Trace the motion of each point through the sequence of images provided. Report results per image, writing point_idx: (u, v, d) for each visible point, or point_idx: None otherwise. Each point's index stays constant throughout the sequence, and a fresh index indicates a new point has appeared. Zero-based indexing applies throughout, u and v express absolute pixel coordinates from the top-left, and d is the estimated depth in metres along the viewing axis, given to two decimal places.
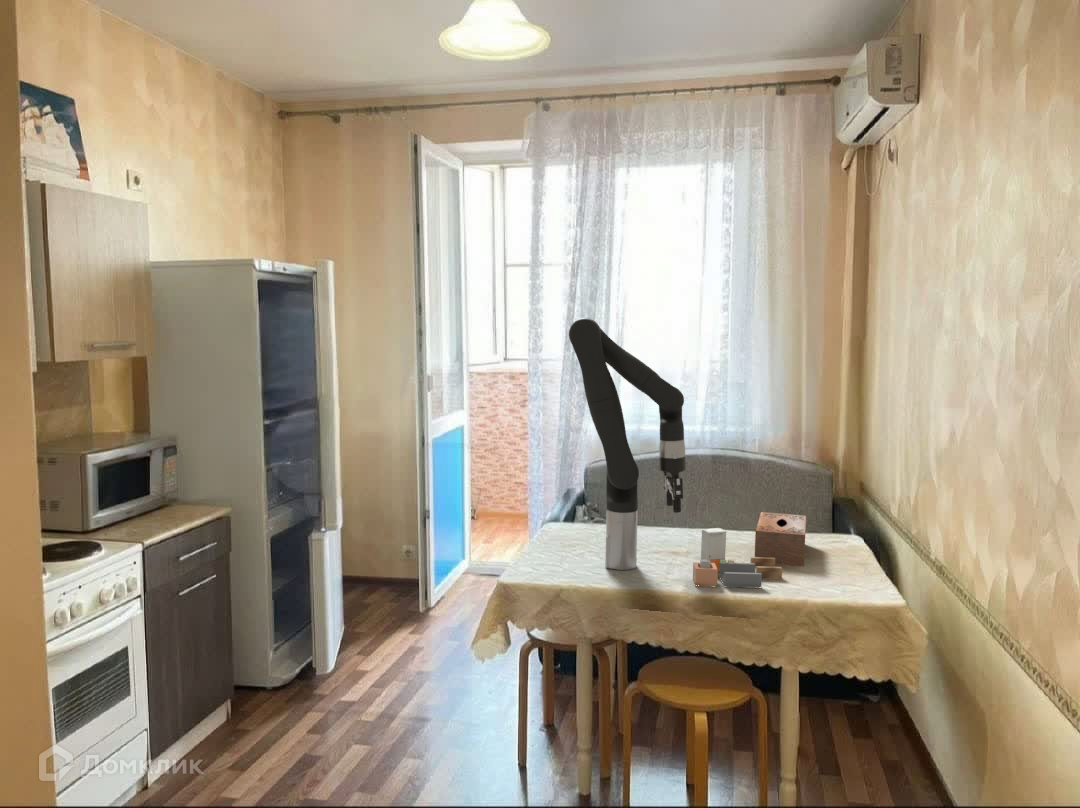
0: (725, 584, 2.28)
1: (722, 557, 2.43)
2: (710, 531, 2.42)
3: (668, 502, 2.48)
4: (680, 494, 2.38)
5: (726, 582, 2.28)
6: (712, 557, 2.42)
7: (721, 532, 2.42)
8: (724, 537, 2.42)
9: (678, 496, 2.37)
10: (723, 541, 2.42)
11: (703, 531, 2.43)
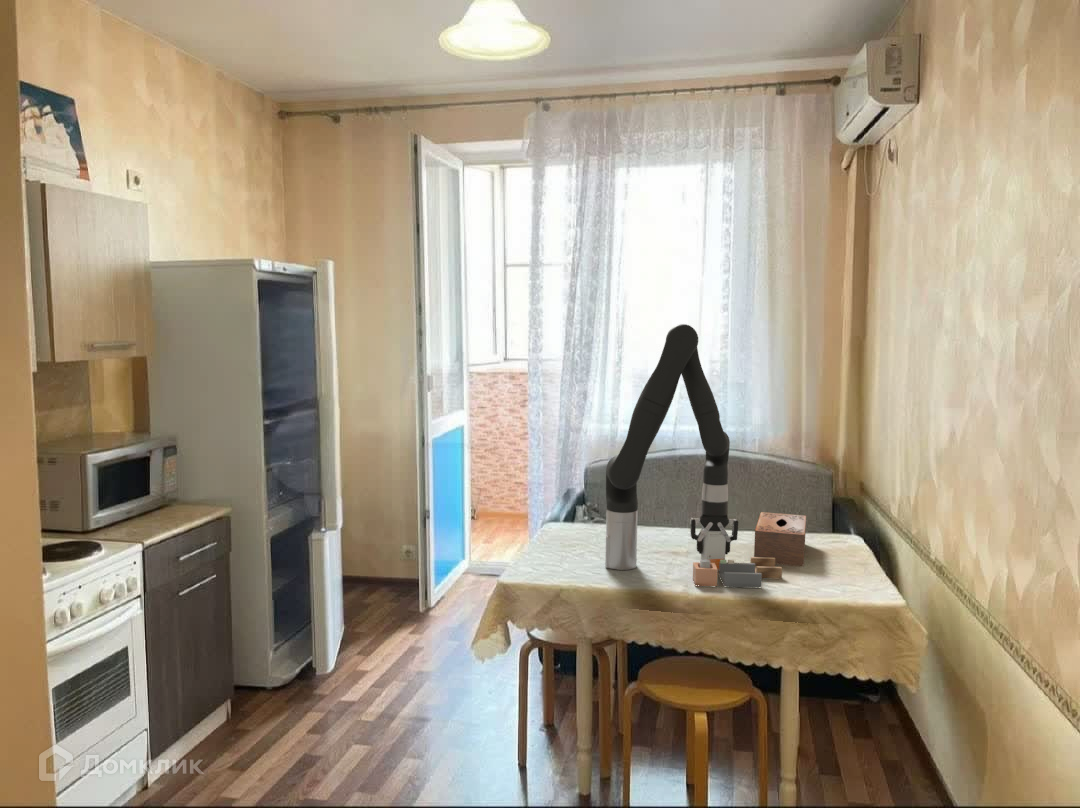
0: (725, 584, 2.28)
1: (722, 557, 2.43)
2: (710, 531, 2.42)
3: (701, 550, 2.44)
4: (732, 534, 2.44)
5: (726, 582, 2.28)
6: (712, 557, 2.42)
7: (721, 532, 2.42)
8: (724, 537, 2.42)
9: None
10: (723, 541, 2.42)
11: None
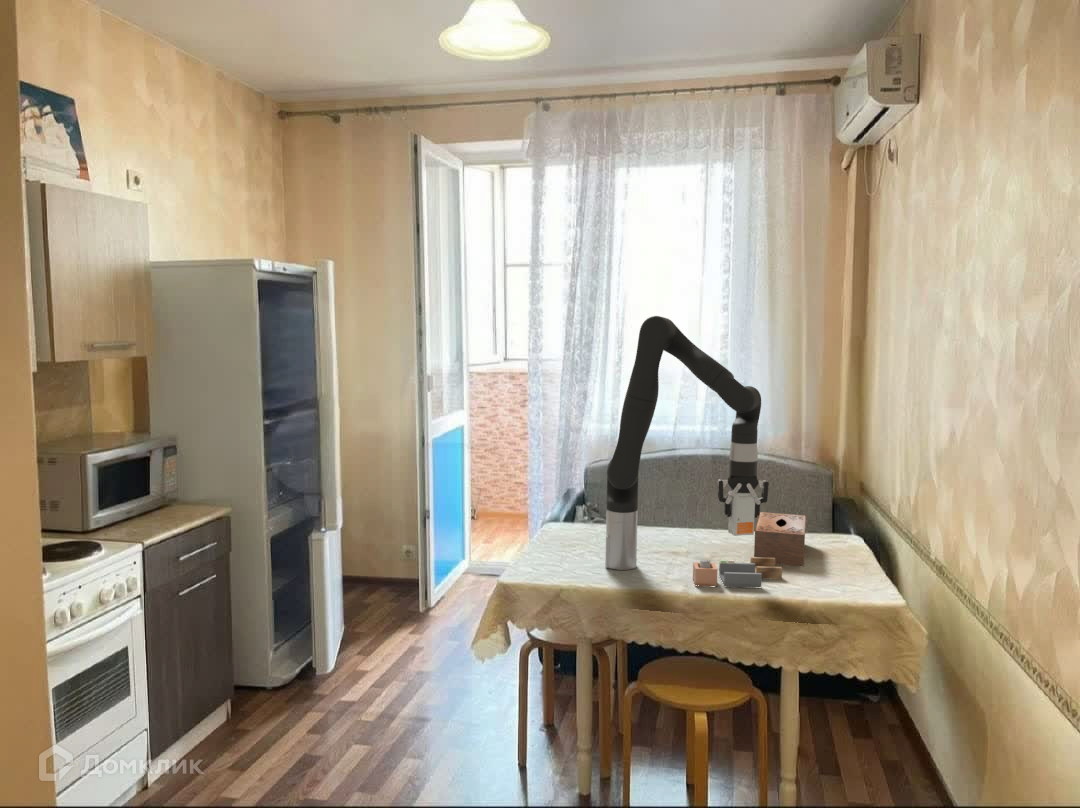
0: (725, 584, 2.28)
1: (751, 520, 2.30)
2: (739, 493, 2.29)
3: (729, 513, 2.31)
4: (761, 496, 2.31)
5: (726, 582, 2.28)
6: (741, 520, 2.29)
7: (750, 494, 2.29)
8: None
9: None
10: (752, 503, 2.30)
11: None
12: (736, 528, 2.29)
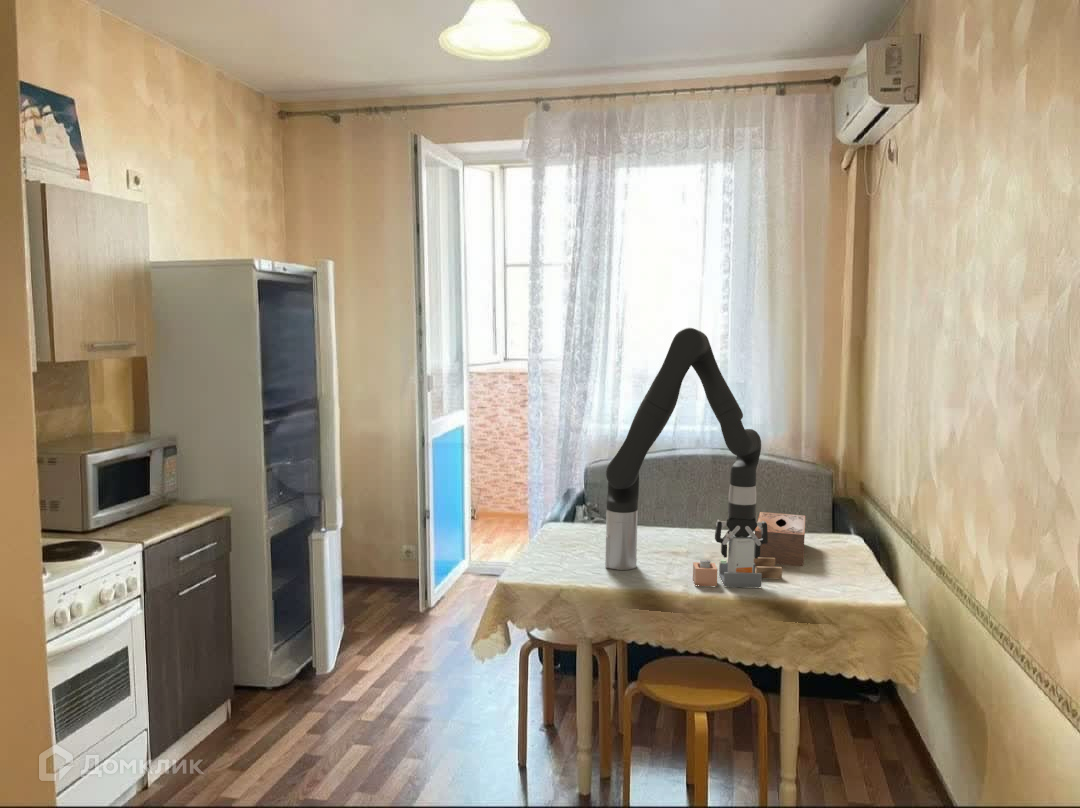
0: (725, 584, 2.28)
1: (750, 565, 2.31)
2: (738, 538, 2.30)
3: (726, 553, 2.32)
4: (762, 537, 2.32)
5: (726, 582, 2.28)
6: (740, 565, 2.30)
7: (749, 539, 2.30)
8: (753, 544, 2.31)
9: None
10: (751, 549, 2.31)
11: None
12: None
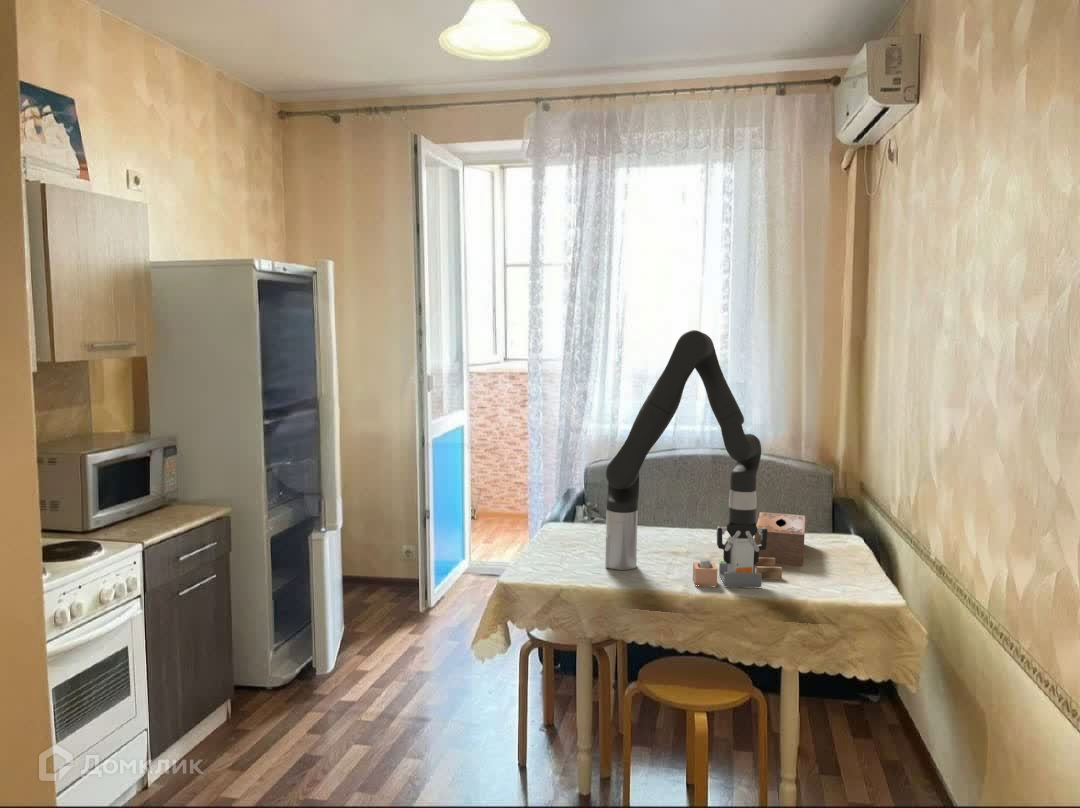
0: (725, 584, 2.28)
1: (750, 565, 2.31)
2: (738, 538, 2.30)
3: (728, 560, 2.32)
4: (760, 543, 2.32)
5: (726, 582, 2.28)
6: (740, 565, 2.30)
7: None
8: None
9: None
10: (751, 549, 2.31)
11: (730, 538, 2.32)
12: None
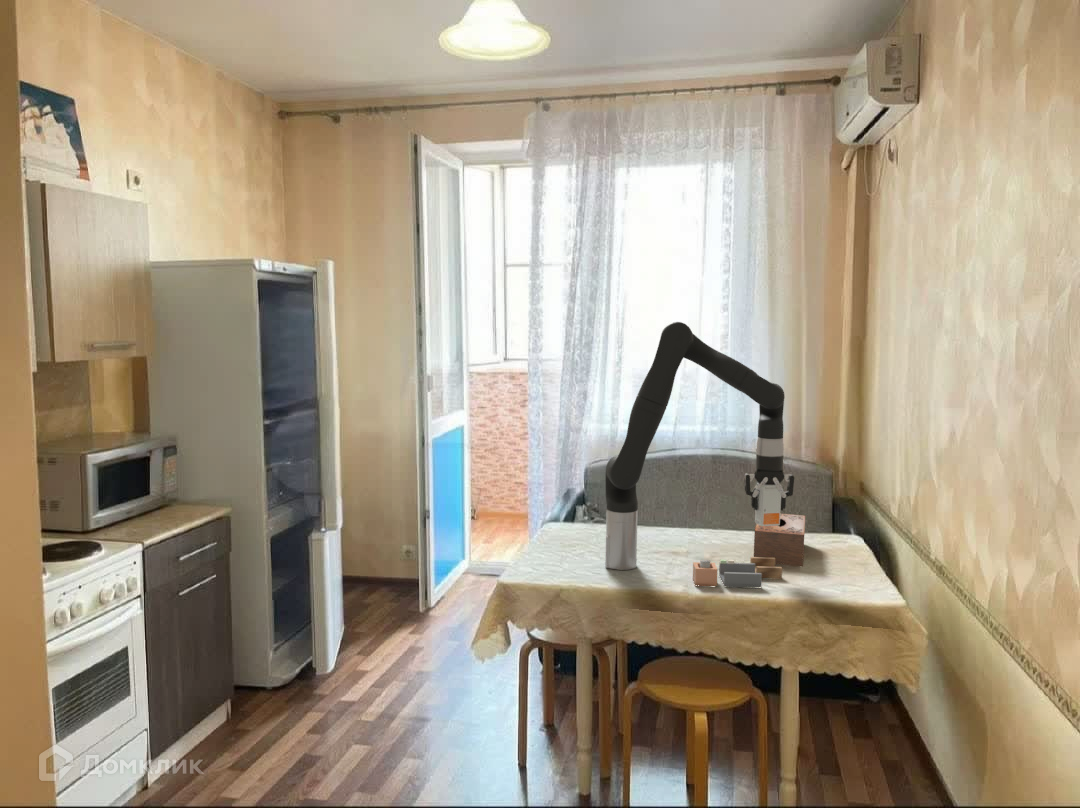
0: (725, 584, 2.28)
1: (777, 511, 2.38)
2: (765, 485, 2.37)
3: (756, 506, 2.39)
4: (787, 490, 2.39)
5: (726, 582, 2.28)
6: (768, 511, 2.37)
7: None
8: None
9: None
10: (778, 495, 2.37)
11: None
12: (763, 518, 2.37)
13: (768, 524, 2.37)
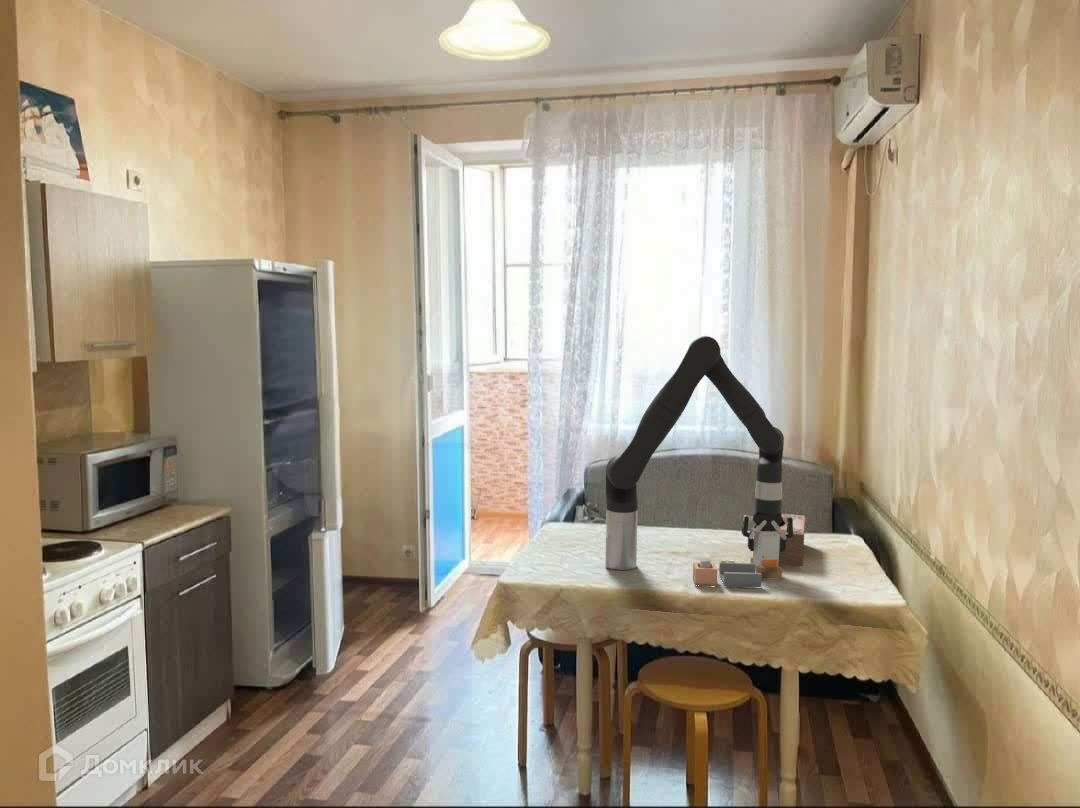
0: (725, 584, 2.28)
1: (776, 558, 2.39)
2: (763, 531, 2.39)
3: None
4: (787, 532, 2.40)
5: (726, 582, 2.28)
6: (766, 558, 2.39)
7: (775, 532, 2.38)
8: (778, 537, 2.39)
9: None
10: (777, 542, 2.39)
11: None
12: (761, 565, 2.39)
13: None
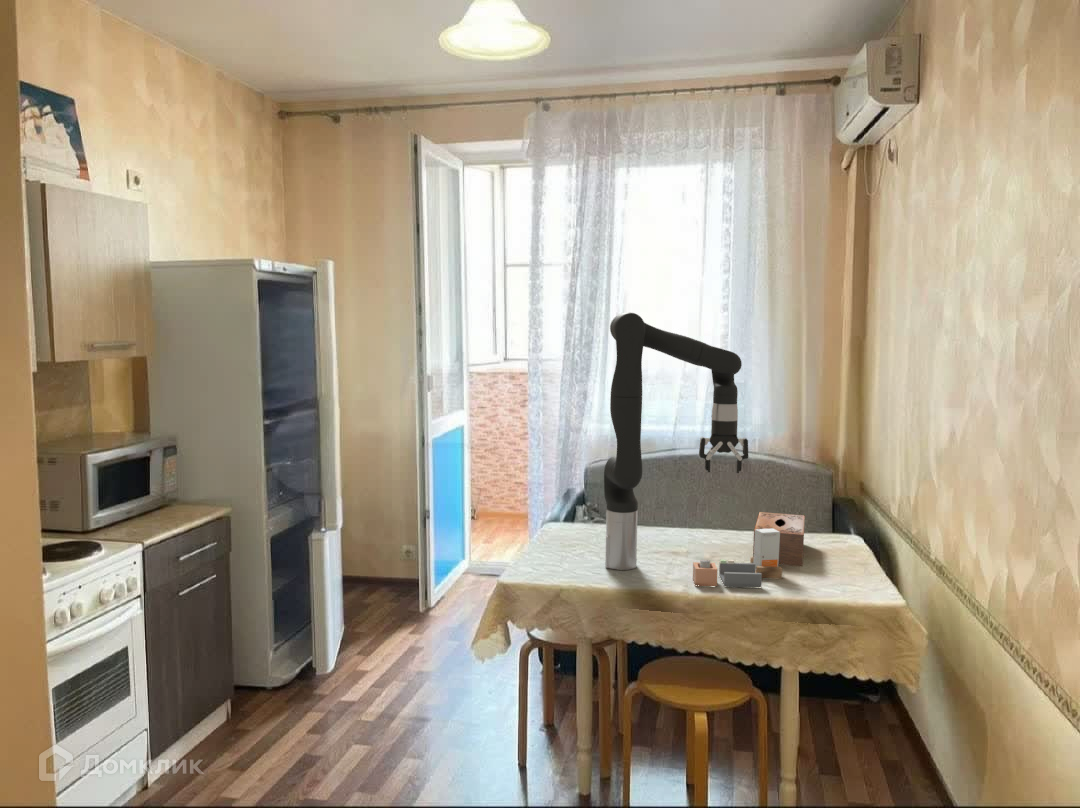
0: (725, 584, 2.28)
1: (776, 558, 2.39)
2: (763, 531, 2.39)
3: (709, 468, 2.47)
4: (743, 453, 2.47)
5: (726, 582, 2.28)
6: (766, 558, 2.39)
7: (775, 532, 2.38)
8: (778, 537, 2.39)
9: None
10: (777, 542, 2.39)
11: (756, 531, 2.40)
12: (761, 565, 2.39)
13: None
